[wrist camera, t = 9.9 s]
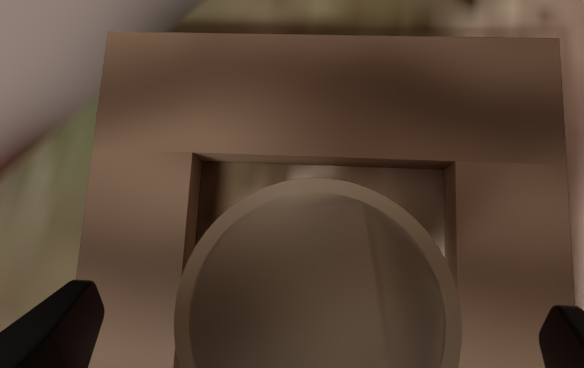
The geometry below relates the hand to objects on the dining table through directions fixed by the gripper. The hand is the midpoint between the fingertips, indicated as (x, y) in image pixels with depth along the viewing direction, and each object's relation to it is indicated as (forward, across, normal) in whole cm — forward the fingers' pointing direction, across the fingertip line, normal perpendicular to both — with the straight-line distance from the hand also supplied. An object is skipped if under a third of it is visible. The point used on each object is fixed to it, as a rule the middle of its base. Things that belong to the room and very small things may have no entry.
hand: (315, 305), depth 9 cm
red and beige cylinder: (+6, 0, +6) cm, 9 cm away
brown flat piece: (+6, 0, +6) cm, 9 cm away
